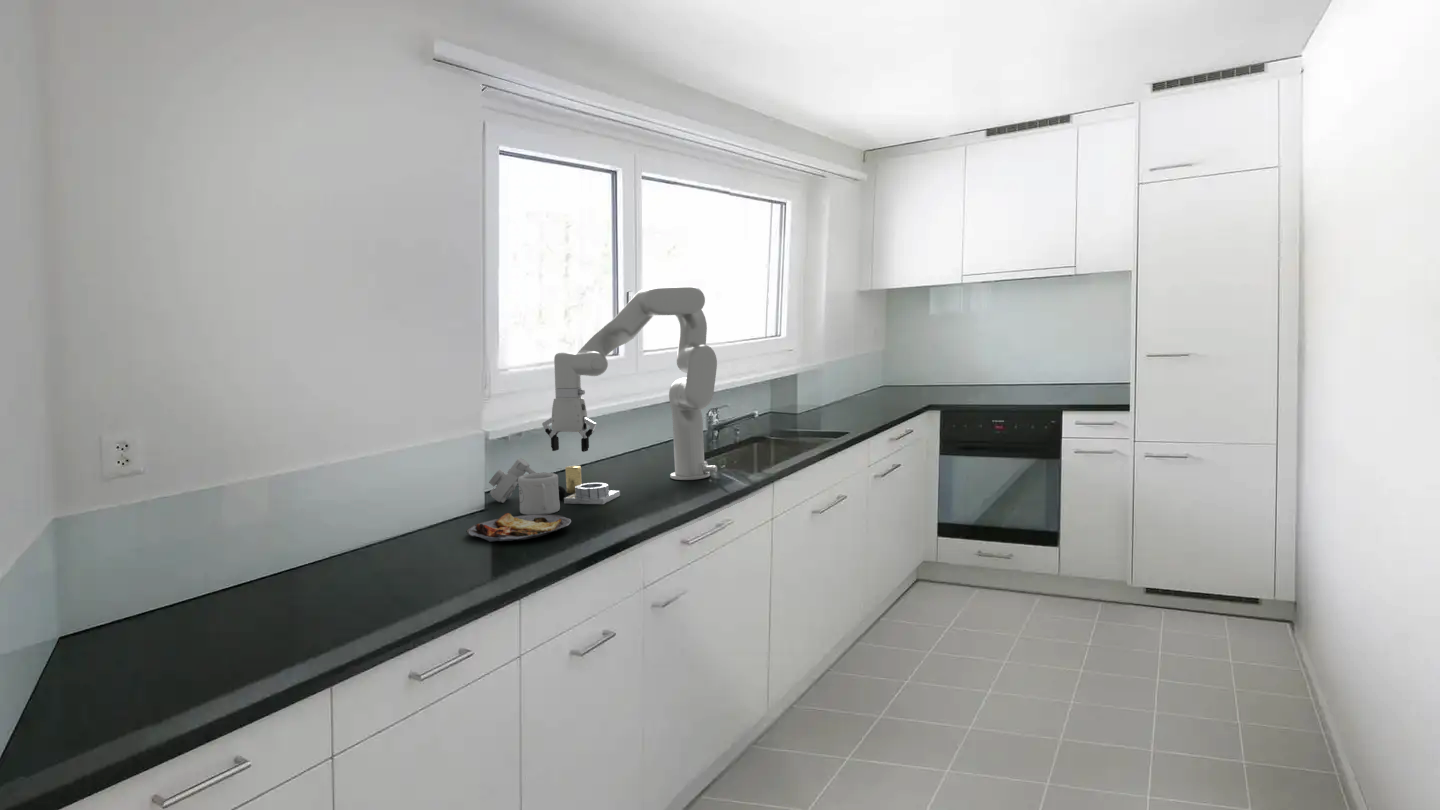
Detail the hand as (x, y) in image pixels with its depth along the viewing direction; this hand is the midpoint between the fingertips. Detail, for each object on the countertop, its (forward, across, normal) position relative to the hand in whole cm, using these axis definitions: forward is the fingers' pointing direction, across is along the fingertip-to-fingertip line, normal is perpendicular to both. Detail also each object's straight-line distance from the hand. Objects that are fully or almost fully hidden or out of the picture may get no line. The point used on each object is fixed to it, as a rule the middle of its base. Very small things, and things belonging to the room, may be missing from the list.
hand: (570, 450), depth 291 cm
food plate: (+14, -11, +51) cm, 54 cm away
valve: (+13, +7, +13) cm, 20 cm away
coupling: (+12, -1, -1) cm, 13 cm away
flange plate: (+12, -12, +10) cm, 20 cm away
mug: (+13, -5, +28) cm, 32 cm away
